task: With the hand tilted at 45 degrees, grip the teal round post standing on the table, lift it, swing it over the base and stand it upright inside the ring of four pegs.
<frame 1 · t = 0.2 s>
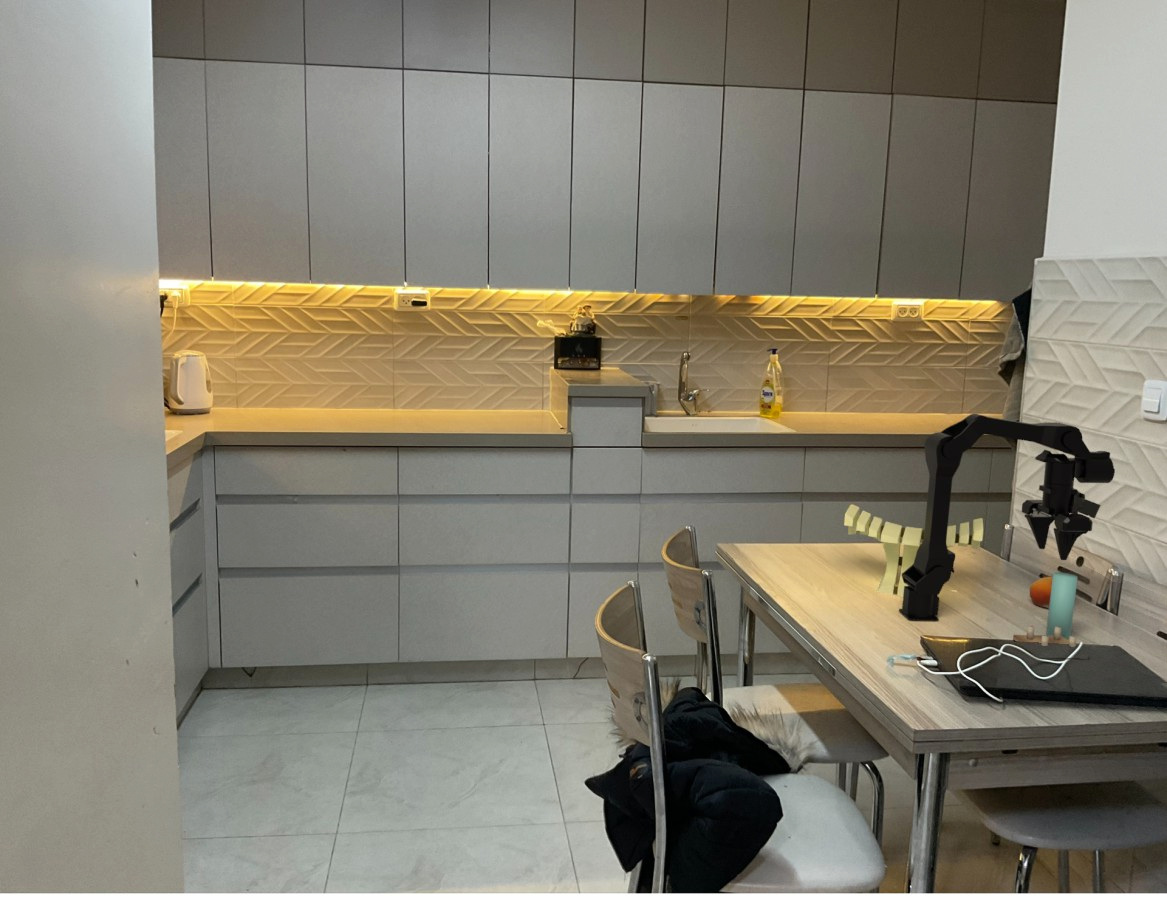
hand: (1052, 554, 208), 15 cm above the table, tool pointing down, fingers open, 9 cm apart
post: (1058, 636, 200), on the table
slatted curved stool: (907, 588, 232), on the table
base: (1049, 649, 192), on the table
fruit: (1047, 607, 221), on the table
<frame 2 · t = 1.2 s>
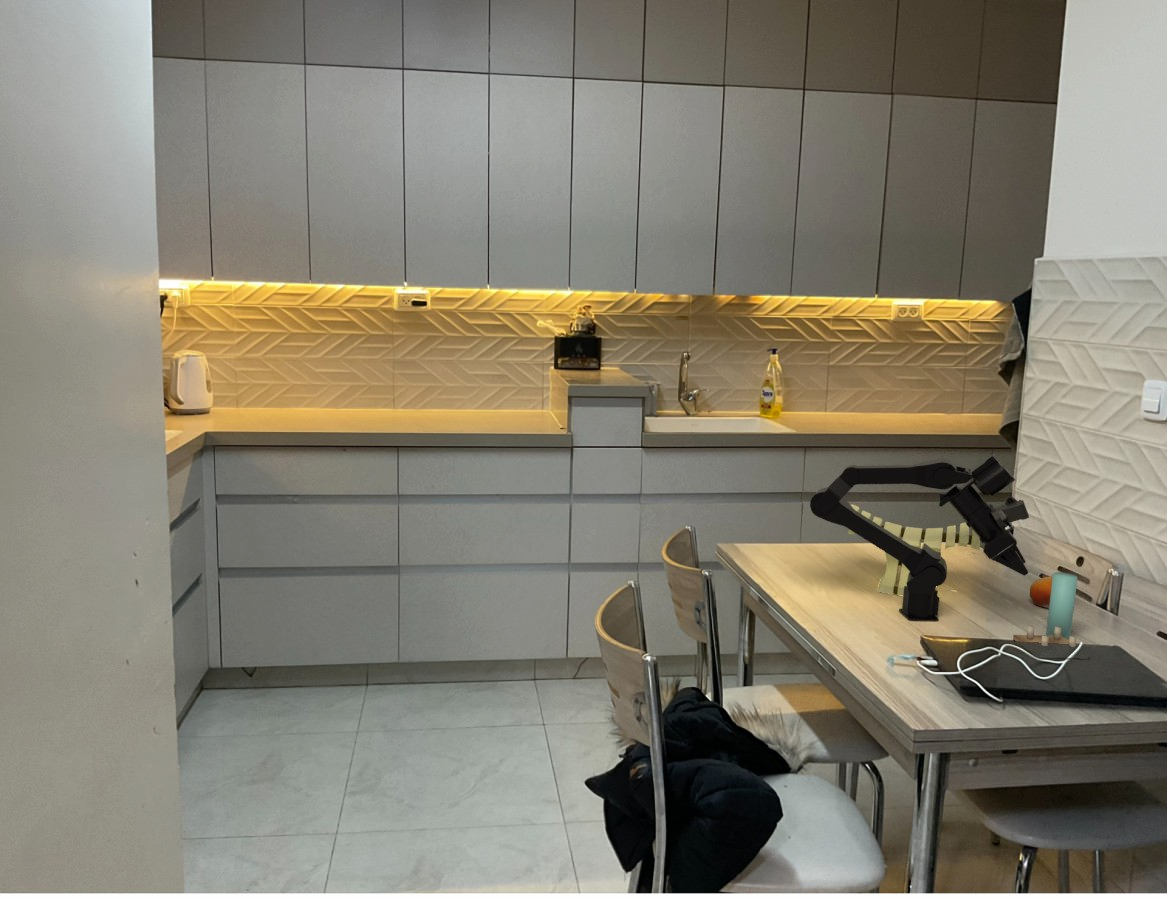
hand: (1025, 568, 201), 13 cm above the table, tool tilted 45°, fingers open, 9 cm apart
nothing on the table moved.
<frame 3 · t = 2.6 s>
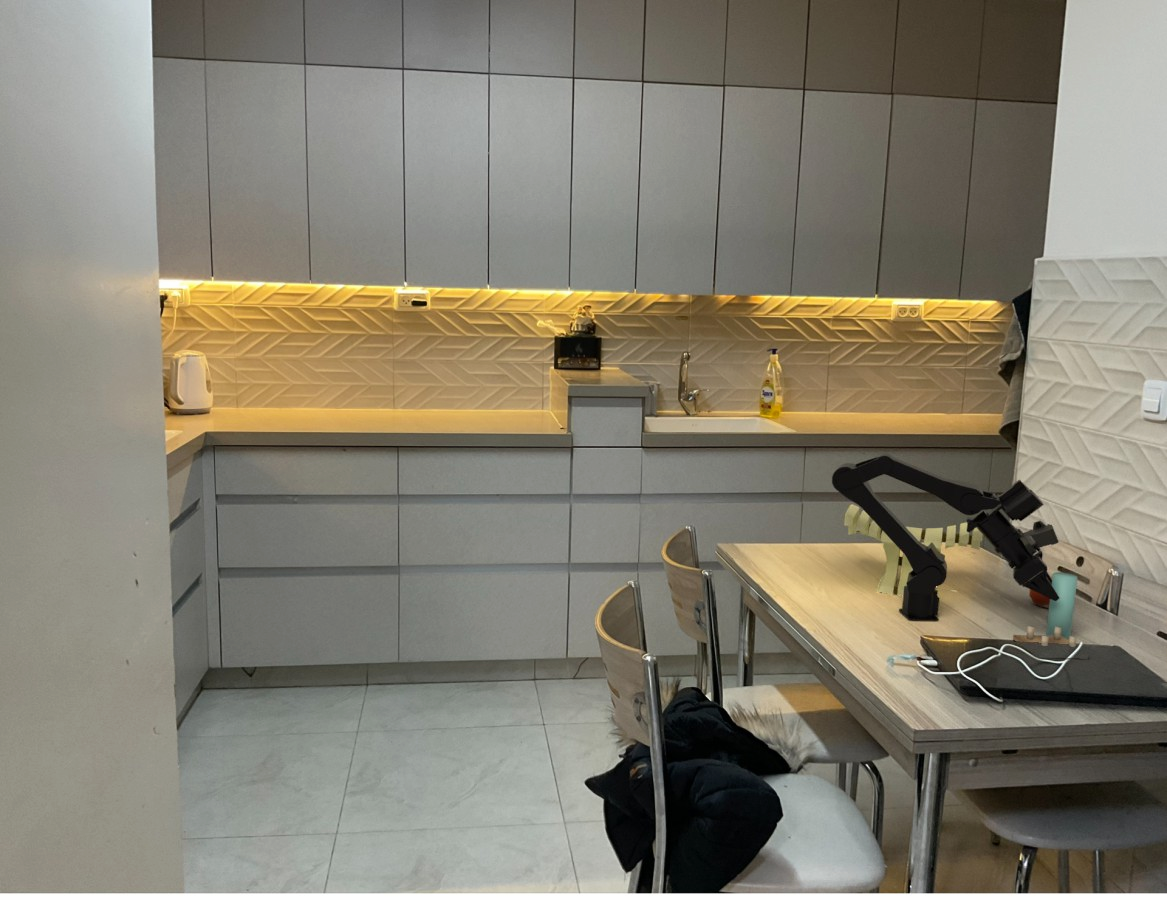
hand: (1055, 593, 199), 9 cm above the table, tool tilted 45°, fingers open, 9 cm apart
nothing on the table moved.
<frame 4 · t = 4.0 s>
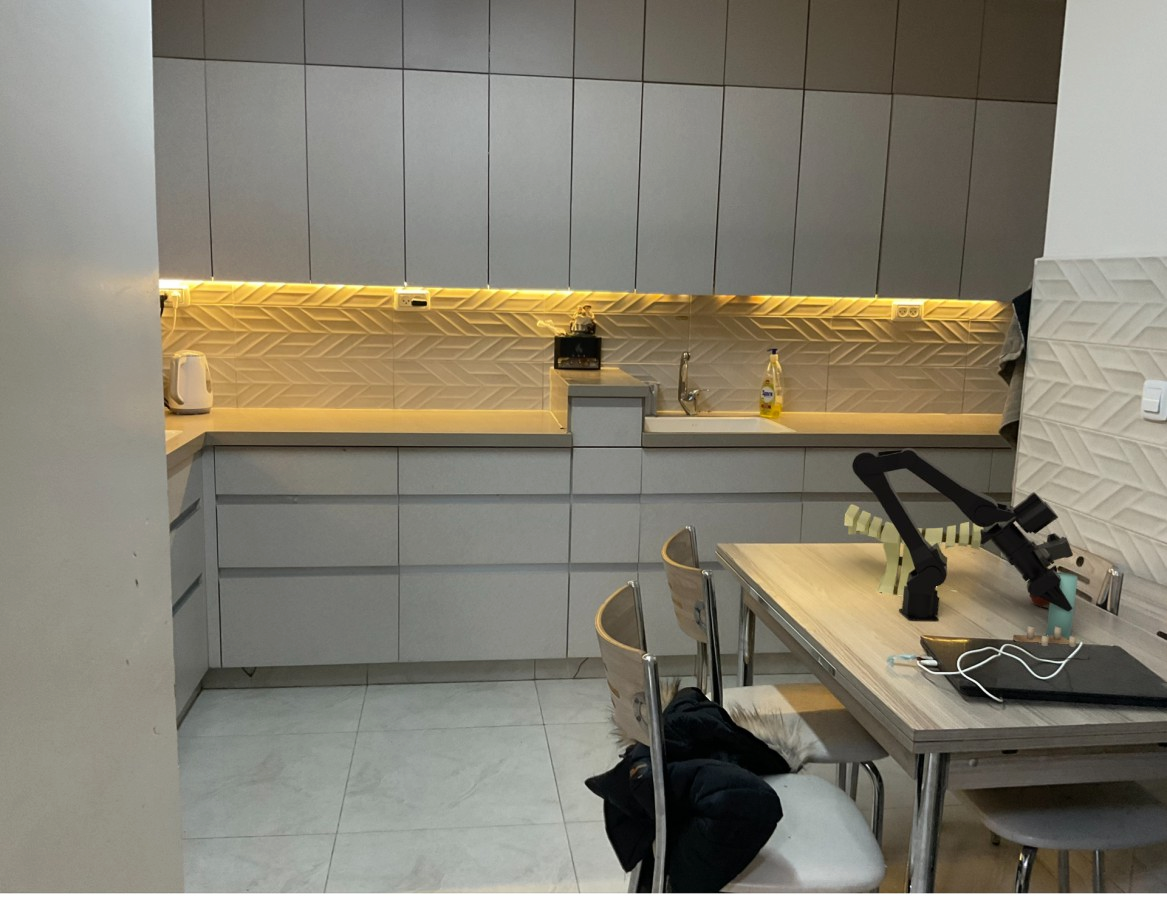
hand: (1069, 606, 199), 7 cm above the table, tool tilted 45°, fingers closed on post, 4 cm apart
post: (1058, 636, 200), on the table, touching gripper
everything else where it was.
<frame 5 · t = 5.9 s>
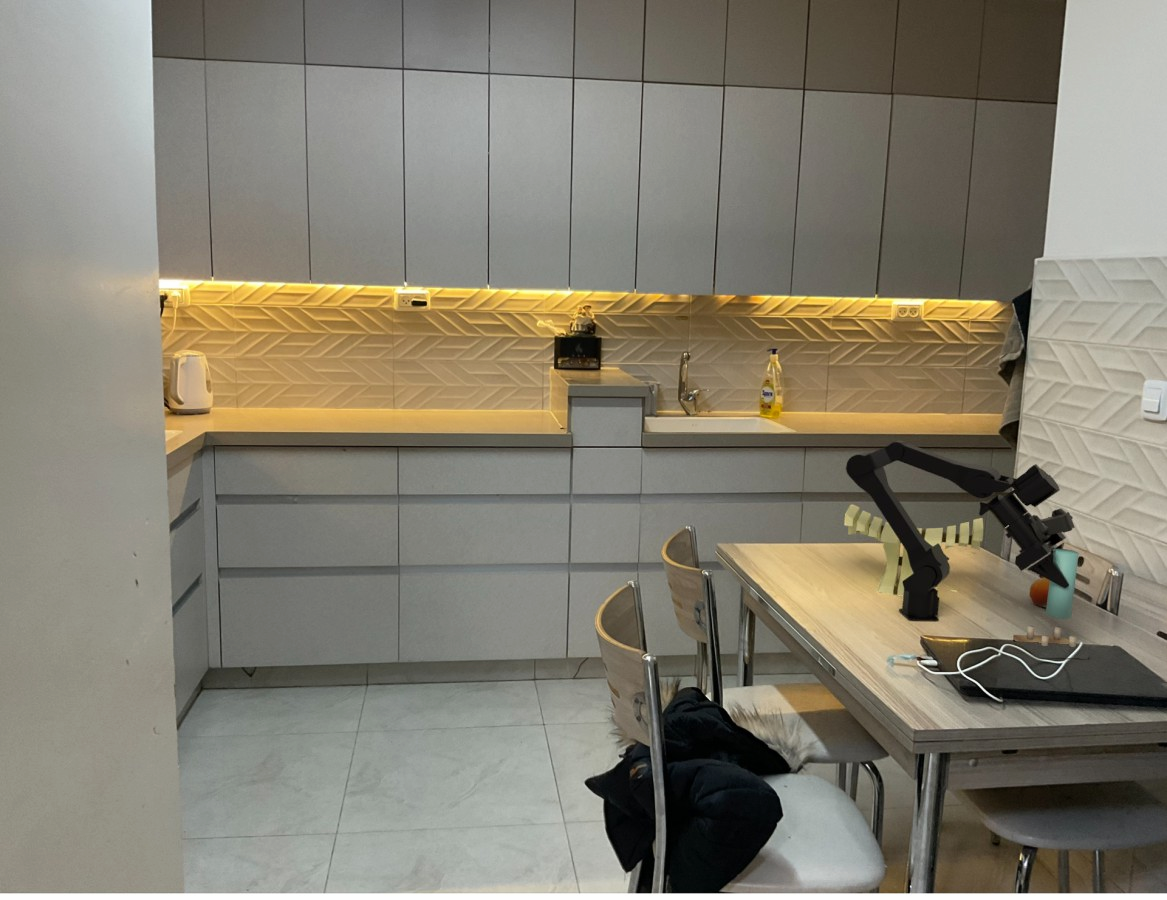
hand: (1069, 584, 192), 13 cm above the table, tool tilted 45°, fingers closed on post, 4 cm apart
post: (1058, 615, 193), point 6 cm above the table, touching gripper
everything else where it was.
when the fingers open (9 cm above the table, at t = 7.6 s): post stays where it is, resting on base.
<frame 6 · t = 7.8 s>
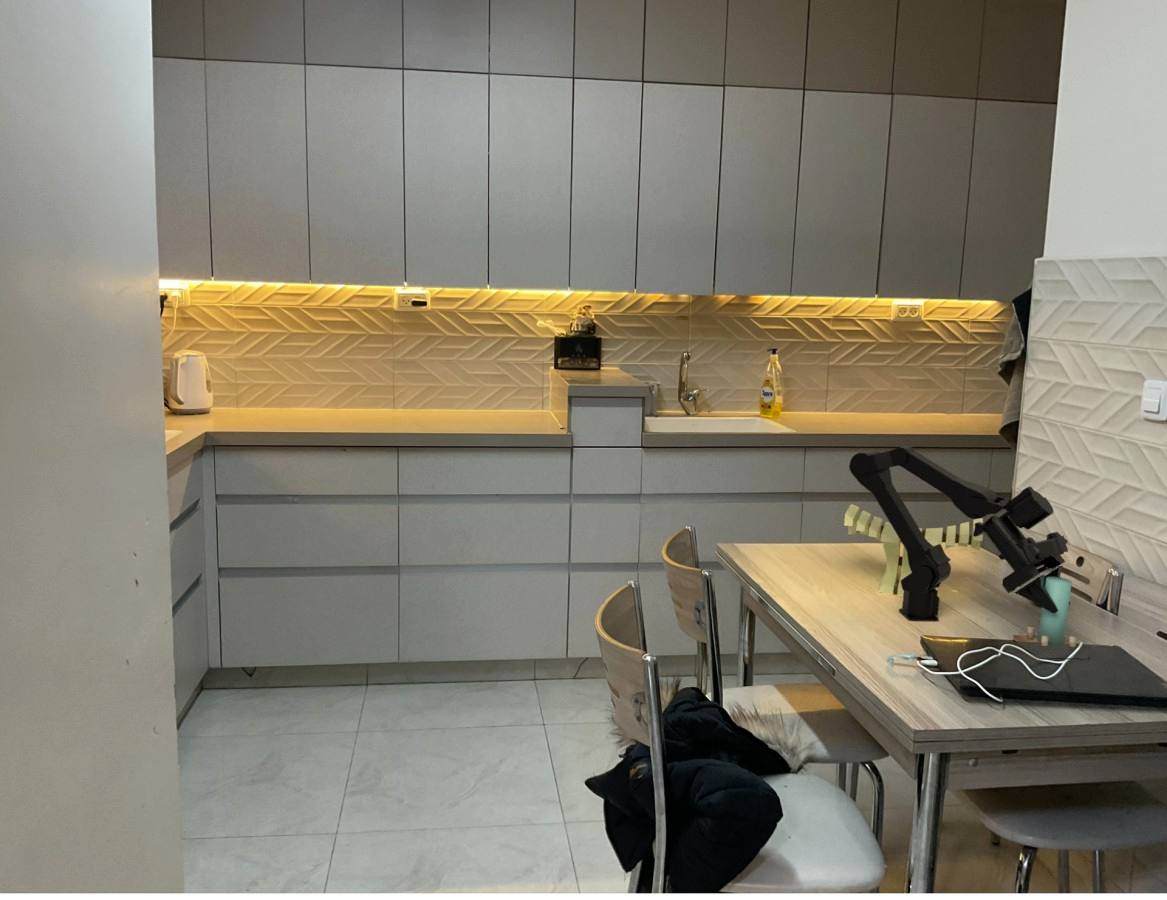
hand: (1062, 608, 190), 9 cm above the table, tool tilted 45°, fingers open, 7 cm apart
post: (1050, 643, 192), point 1 cm above the table, touching base
everything else where it was.
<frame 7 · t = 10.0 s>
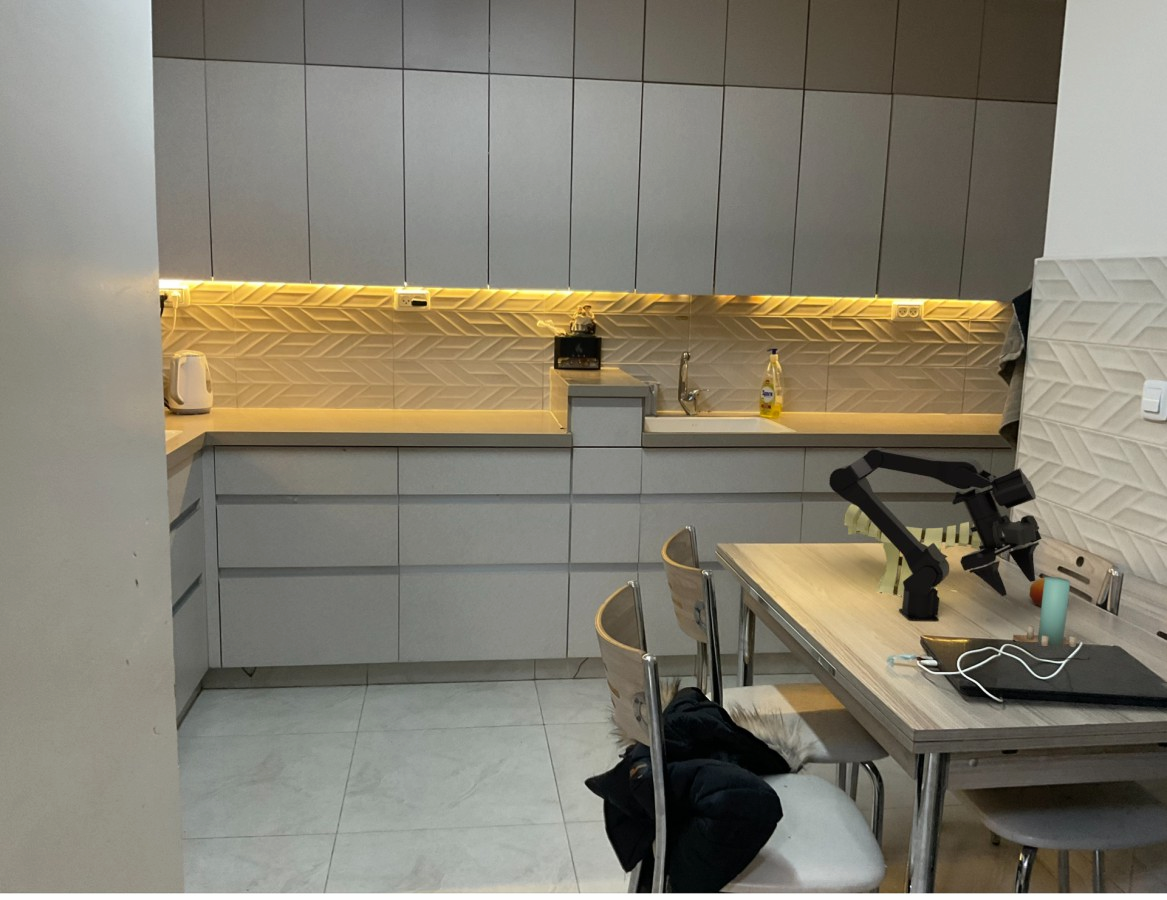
hand: (1018, 588, 197), 10 cm above the table, tool tilted 30°, fingers open, 9 cm apart
nothing on the table moved.
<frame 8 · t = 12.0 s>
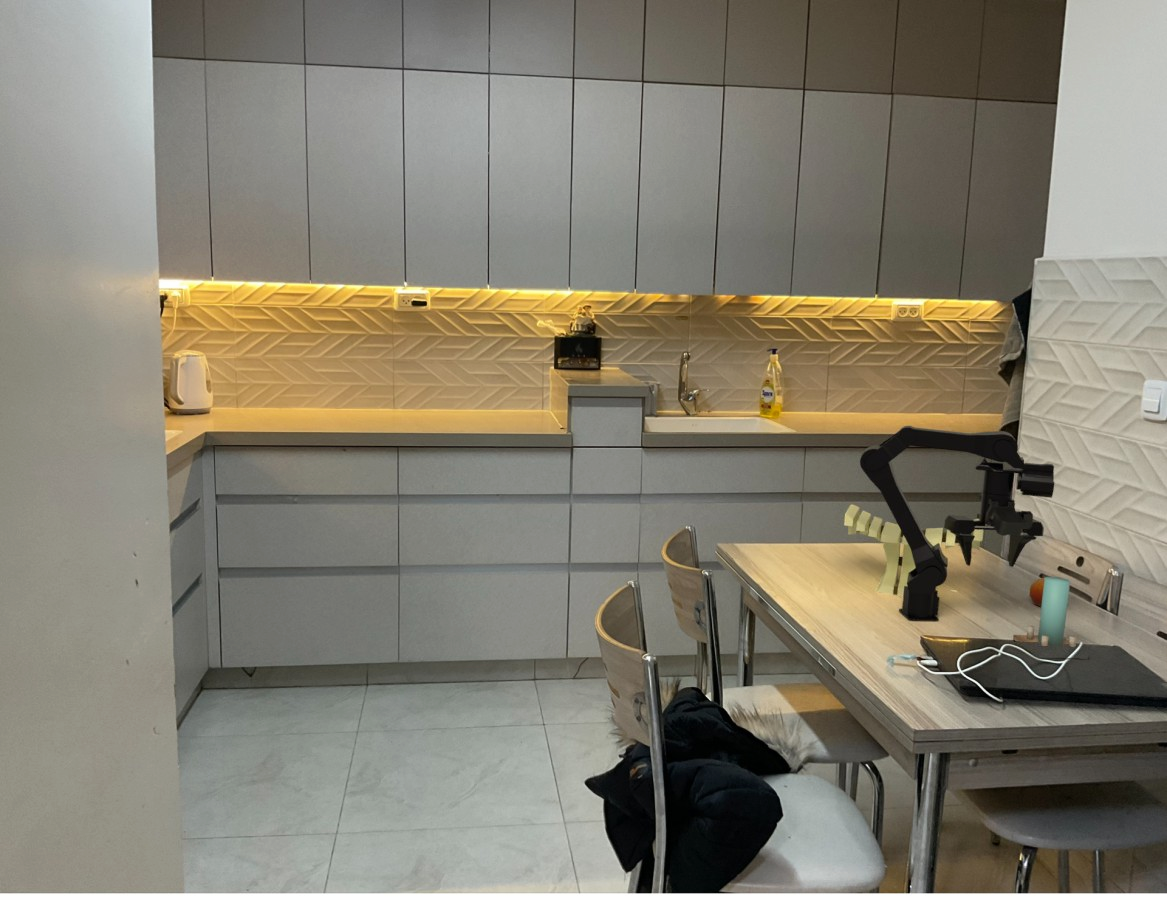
hand: (989, 565, 203), 13 cm above the table, tool pointing down, fingers open, 9 cm apart
nothing on the table moved.
at the end: post 0.1 cm off-centre on the base, point 1.2 cm above the base's base; post tilted 0°; the gripper is holding nothing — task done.
